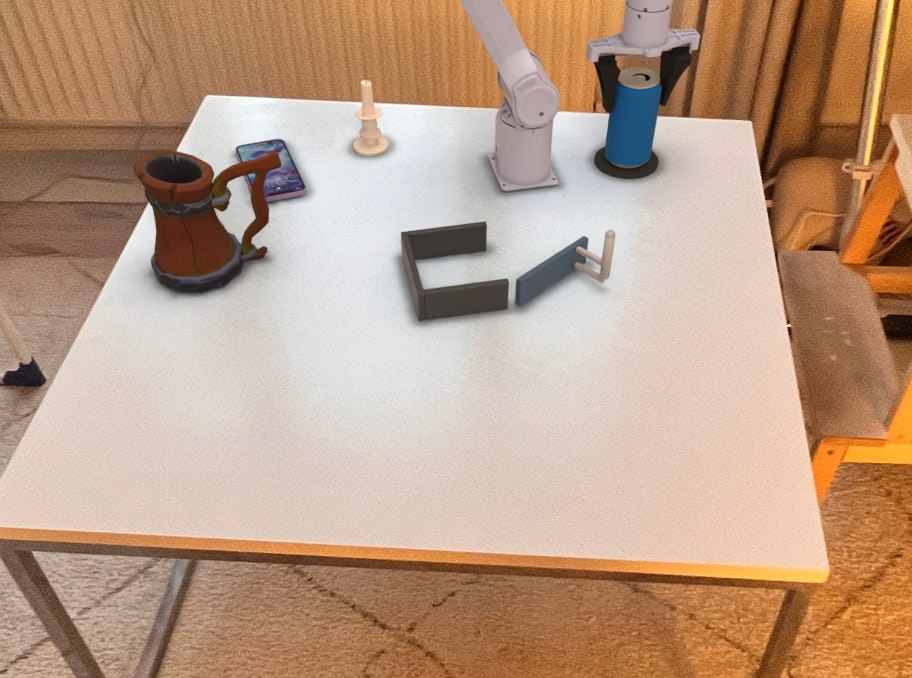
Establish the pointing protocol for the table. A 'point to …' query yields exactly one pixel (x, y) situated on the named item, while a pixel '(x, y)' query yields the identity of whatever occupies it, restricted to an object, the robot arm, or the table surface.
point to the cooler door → (565, 267)
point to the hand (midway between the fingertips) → (634, 105)
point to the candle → (369, 125)
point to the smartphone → (278, 180)
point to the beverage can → (633, 117)
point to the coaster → (625, 173)
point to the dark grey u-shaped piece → (457, 296)
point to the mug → (200, 218)
